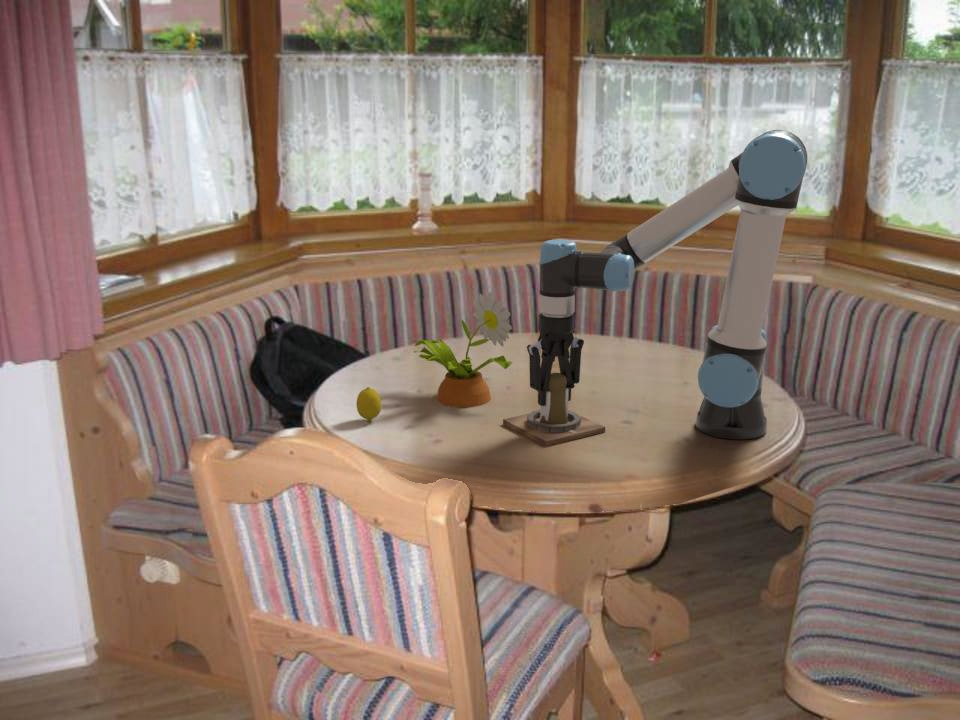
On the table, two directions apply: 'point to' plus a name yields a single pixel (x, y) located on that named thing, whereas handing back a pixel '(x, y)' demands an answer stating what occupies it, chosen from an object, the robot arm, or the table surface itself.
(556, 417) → the olive round stacked cylinder
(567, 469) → the table surface
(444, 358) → the decorative plant
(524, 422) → the socket board
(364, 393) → the lemon
